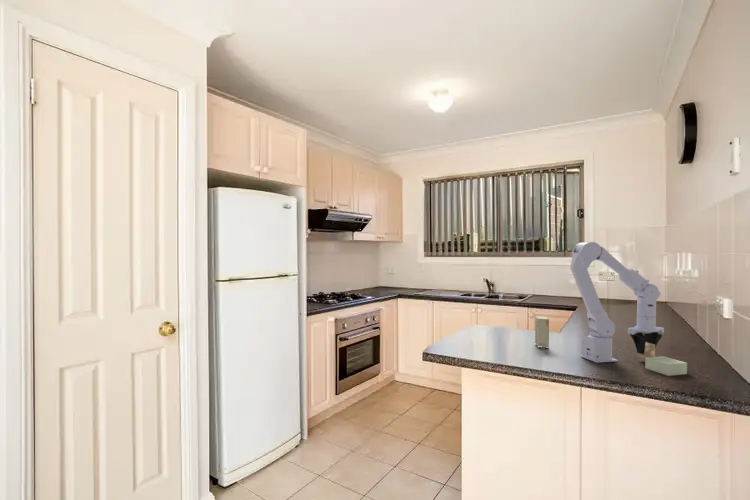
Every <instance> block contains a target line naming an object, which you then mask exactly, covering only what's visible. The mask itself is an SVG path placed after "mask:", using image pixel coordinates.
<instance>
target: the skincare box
mask: <svg viewBox="0 0 750 500" xmlns="http://www.w3.org/2000/svg"><path fill="white" fill-rule="evenodd" d="M534 321H535V323H534V324H535V325H534V326H535V327H534V329H535V330H534V333H535V335H534V337H535V338H534V340H535V341H534V344H535V343H536V344H537V345H538V346H542V347H548V348H549V349H550V319H549V318H548V317H546V316H535V319H534Z"/></svg>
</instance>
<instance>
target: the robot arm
mask: <svg viewBox="0 0 750 500" xmlns="http://www.w3.org/2000/svg"><path fill="white" fill-rule="evenodd" d="M571 253H572V256H571V261H570V262H571V263H570V271H571V273H572V276H573V278H574V280H575V283H576V286H577V288H578V291H579V293H580V296H581V299H582V301H583V303H584V305H585V309H586V311H587V313H586V317H587V326H588V329H590V330H589V335H587V336H584V338H583V339H582V347H581V348H582V350H581V352H582V353H581V354H580V358H583V359H586V360H588V361H592V362H594V363H610V362H611V363H612V362H613V363H614V362H618V361H619V360H618V359H616V358H614V357H613V335H614V334H615V332H616V325H615V323H614V322H613V321H612V320H611V319H610V318H609V315H608V314H607V312H606V311H605V310H604V308H603V305H602V303H601V300H600V298H599V295H598V293H597V291H596V288H595V285H594V284H593V281H592V278H591V275H590V274H589V273H590V272H589V271H588V268H589V267H590V265H592V264H591V263H592V262H594V261H599V262H601V263H603V264H604V265H605V266H607V267H608V268H609V269H610V270H613V271H614V272H615V273H616V274H617V275H618V279H619V280H620V281H621V283H624V284H625V286H627V287H628V288H629V289H630V290H632V291H633V293H634V295H635V296H636V299H637V300H636V301H637V302H636V304H637V305H636V325H634V326H633V327H627V334H629V336H630V337H631V339H632V341H633V343H634V345H635V351H636V350H637V353H640V354H644V350H645V343H646V342H647V343H651V344H655V349H656V348H657V345H658V343H659V341H660V340H661V338H663V334H665V328H664V327H662V326H661V327H660V326H656V325H657V324H656V323H657V300H658V299H659V298H660V296H661V291H660V290H659V288H658V287H657V286H656V285H655V284H652V283H649V282H650V280H649V279H648V278H645V277H643V276H642V275H641V274H639V270H637V269H633V268H627V267H626V266H624V265H623V264H622V263H621V262H620V261H619V260H618V259H616V258H615V257H614V256H613V255H612V254H611V253H610V252H609V251H608V250H607V249H606V248H604V247H603V246H600V244H599V243H597V242H596V241H590V242H584V241H583V242H579V243H577V244H575V246H574V248H573V250H572V251H571Z"/></svg>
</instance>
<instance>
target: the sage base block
mask: <svg viewBox="0 0 750 500" xmlns="http://www.w3.org/2000/svg"><path fill="white" fill-rule="evenodd" d="M644 359H645V361H644V362H645V363H644V364H645V366H644V367H645V369H647V370H649V371H653V372H655V373H659V374H662V375H664V376H668V377H670V376H678V375H679V376H681V375H687V374H688V362H685V361H682V360H677V359H674V358H671V357H667V356H664V355H661V356H655V357H646V358H644Z"/></svg>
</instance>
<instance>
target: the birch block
mask: <svg viewBox="0 0 750 500" xmlns="http://www.w3.org/2000/svg"><path fill="white" fill-rule="evenodd" d="M635 356H636V357H637V358H638V357H639V358H641V359H645V358H646V357H656V348H655V344H651V343H647V342H646V343H645V350H644V354H640V353H637V350H636V349H635Z"/></svg>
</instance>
